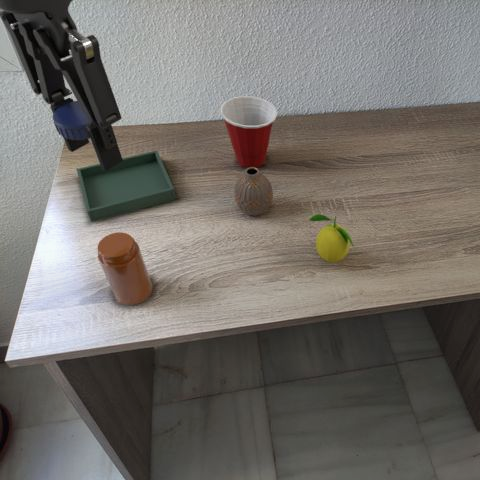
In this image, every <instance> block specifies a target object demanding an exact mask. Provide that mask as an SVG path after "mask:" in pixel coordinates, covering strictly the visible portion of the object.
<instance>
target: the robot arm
mask: <svg viewBox="0 0 480 480" xmlns="http://www.w3.org/2000/svg"><path fill="white" fill-rule="evenodd" d="M73 1H74V0H0V10H1V11H0V19H1V21H2V23H3V24H4V26H5V28H6V30H7V32H8V33H9V35H10V38H11V40H12V43H13V45H14V48H15V50H16V53H17V55H18V57H19V60H20V63H21V64H22V67H23V70H24V72H25V74H26V78H27V79H28V82H29V85H30V87H31V89H32V92H33V93H34V94H35V95H37V96H39V95H41V96H42V99H43V101H44V102H45V103H46V104H47V105H50V106H49V107H50V109H51V112H52V115H53V114H54V112H55V111H56V110H57V109H58V108H59V107H61V106H62V105H65V104H67V103H70V102H73V101H74V98H75V99H76V101H78V103H79V105H80V107H81V109H82V110H83V112H84V114H85V116H86V118H87V120H88V122H89V124H87V125H85V126H84V127H85V128H86V129H87V130H88V133H89V136H90V138H89V139H90V140H89V139H84V140H72V139H67V138H64V137H63V136H62V139H63V141H64V142H65V143H64V144H65V145H66V147H67V150H68V151H70V152H71V153H73V152H76V151H77V150H79V149H81V148H82V147H84V146H87V145H88V144H90V141H91V143H92V146H93V149H94V151H95V154H96V157H97V160H98V162H99V164H100V165H101V168H102V169H103V170H105V171H107V170H109V169H111V168H112V167H114V166H116V165H117V164H119V163H121V162H122V161H123V159H122V158H123V156H122V153H121V150H120V147H119V144H118V141H117V138H116V135H115V131H114V129H113V124H115V123H118V122H119V121H120V120H122V115H121V112H120V109H119V106H118V103H117V100H116V98H115V95H114V92H113V89H112V86H111V82H110V80H109V77H108V74H107V71H106V69H105V66H104V63H103V60H102V57H101V50H100V43H99V40H98V38H97V37H96V35H94V34H90V35H87V36H84V35H83V34H82V33H81V32H79V31H78V27H77V25H76V22H75V21H74V19H73V18H72V16H71V14H70V12H69V7H70V4H71V3H72V2H73ZM65 58H66V59H65ZM62 59H63V60H62ZM65 81H66V82H67V85H68V87H69V88H68V87H66V82H65ZM72 94H73V96H74V98H71V97H68V96H70V95H72ZM66 97H68V98H66Z"/></svg>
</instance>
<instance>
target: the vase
mask: <svg viewBox="0 0 480 480" xmlns="http://www.w3.org/2000/svg"><path fill="white" fill-rule="evenodd" d="M233 194H234V201H235V203H236V206H238V208H239V210H240V211H241V212H243V213H244V214H245V215H248V216H253V217H255V216H260V215H263V214H265V213H266V212H267V211H268V210H269V209H270V208H271V206H272V203H273V199H274V190H273V186H272V183H271V181H270V180H269V178H268V177H267V176H265V174H263V173H262V172H261V171H260V170H259V168H258V167H257V168H255V167H249V168H245V170H244V172H243V173H242V174H241V176H239V178H238V179H237V181H236V183H235V185H234V191H233Z"/></svg>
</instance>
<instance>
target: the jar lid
mask: <svg viewBox="0 0 480 480" xmlns="http://www.w3.org/2000/svg"><path fill="white" fill-rule="evenodd" d="M52 120H53V125H54V127H55V130H56V132H57V133H58V135H59V136H61V137H62V138H63V137H64V138H67V139H72V140H84V139H88V140H89V139H91V138H90V136H89V133H88V130H87V129H86V128H85V127H84V126H85V125H87V124H89V122H88V120H87V118H86V116H85V114H84V112H83V110H82V109H81V107H80V105H79V103H78V101H77V100H73V102H70V103H67V104H65V105H62V106H61V107H59V108H58V109H57V110H56V111H55V112H54V114H53V113H52ZM64 138H63V139H64Z"/></svg>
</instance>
